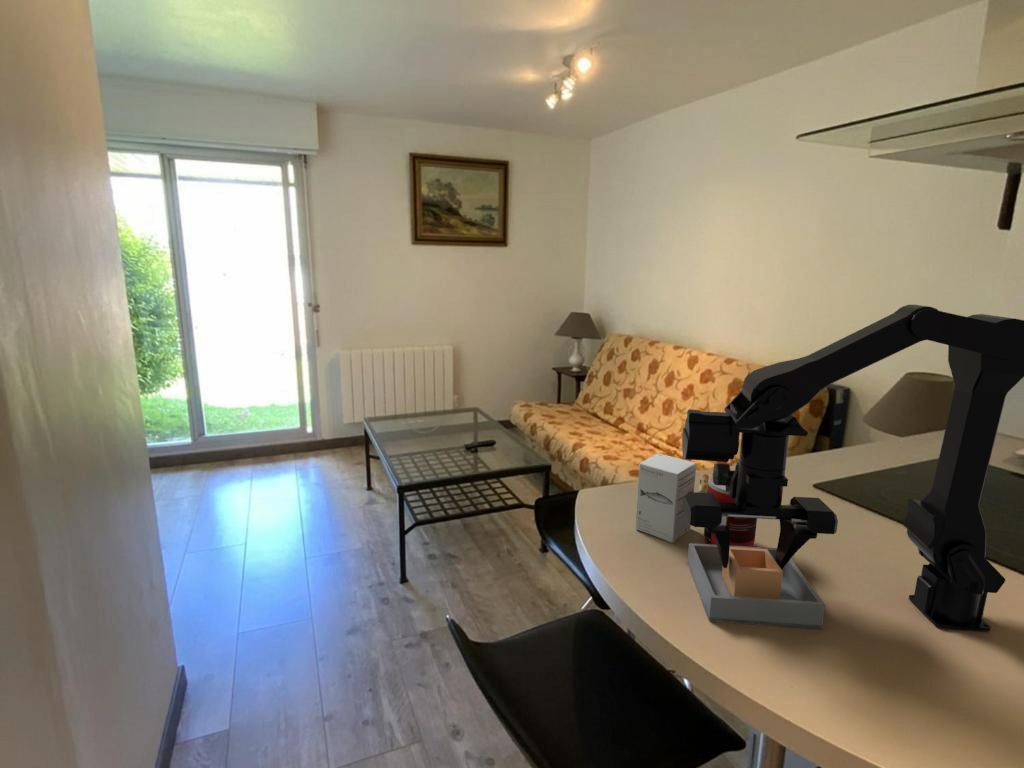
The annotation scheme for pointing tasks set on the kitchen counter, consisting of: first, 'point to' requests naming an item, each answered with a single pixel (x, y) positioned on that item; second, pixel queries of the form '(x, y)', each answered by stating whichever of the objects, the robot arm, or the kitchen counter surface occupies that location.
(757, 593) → the small crate
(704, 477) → the pastry
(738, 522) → the canned food
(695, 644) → the kitchen counter surface
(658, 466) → the supplement box
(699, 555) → the grey square tray
